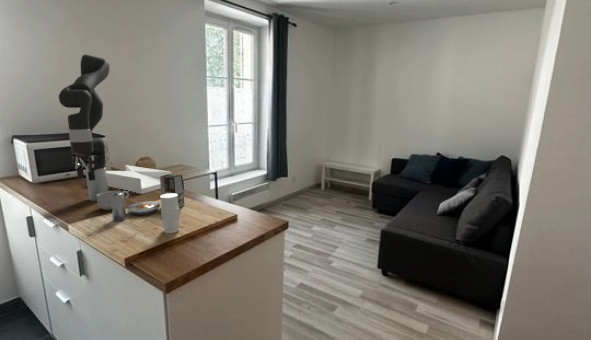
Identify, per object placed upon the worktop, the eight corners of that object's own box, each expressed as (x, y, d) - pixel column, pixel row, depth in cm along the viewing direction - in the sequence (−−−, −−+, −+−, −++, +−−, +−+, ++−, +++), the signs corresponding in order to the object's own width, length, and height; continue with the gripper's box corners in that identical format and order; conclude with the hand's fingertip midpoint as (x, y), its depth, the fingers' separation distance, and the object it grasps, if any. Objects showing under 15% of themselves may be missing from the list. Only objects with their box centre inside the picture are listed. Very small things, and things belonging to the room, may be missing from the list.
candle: (182, 231, 128) (180, 196, 125) (164, 235, 124) (161, 199, 121) (178, 225, 134) (176, 192, 131) (161, 229, 130) (158, 194, 127)
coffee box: (185, 205, 161) (183, 174, 157) (176, 209, 155) (174, 177, 151) (170, 203, 164) (168, 173, 160) (161, 207, 158) (159, 176, 154)
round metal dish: (121, 213, 148) (120, 207, 148) (148, 205, 160) (147, 199, 159) (139, 218, 141) (139, 212, 141) (166, 210, 153) (165, 204, 152)
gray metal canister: (110, 220, 140) (107, 194, 137) (122, 216, 144) (119, 191, 141) (117, 222, 137) (114, 196, 135) (128, 218, 141) (126, 193, 139)
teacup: (97, 213, 148) (95, 197, 147) (99, 206, 158) (97, 191, 156) (130, 209, 155) (128, 193, 153) (130, 202, 164) (128, 188, 162)
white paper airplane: (94, 185, 200) (93, 170, 198) (126, 178, 219) (125, 164, 217) (142, 194, 180) (140, 178, 178) (172, 186, 199) (171, 171, 198)
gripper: (100, 140, 126) (105, 179, 130) (81, 138, 133) (86, 175, 137) (80, 142, 120) (86, 183, 123) (62, 140, 127) (67, 178, 130)
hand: (86, 179), depth 130 cm, fingers open, 8 cm apart
